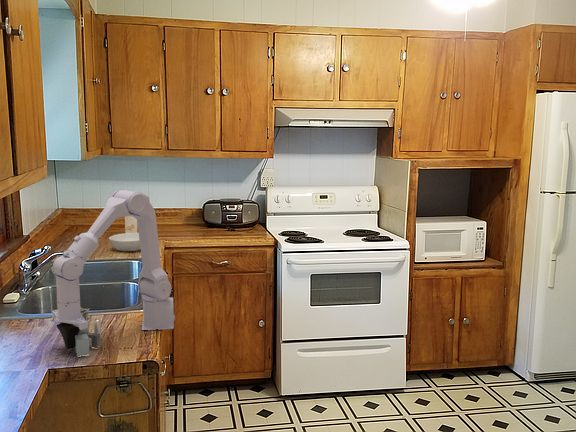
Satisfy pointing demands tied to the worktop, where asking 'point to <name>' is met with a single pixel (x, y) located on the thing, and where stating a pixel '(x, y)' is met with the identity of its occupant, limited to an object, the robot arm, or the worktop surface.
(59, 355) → the worktop surface
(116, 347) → the worktop surface
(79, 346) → the link
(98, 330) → the pintle
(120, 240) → the serving bowl
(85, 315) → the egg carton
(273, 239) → the worktop surface
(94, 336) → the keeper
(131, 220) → the coffeecake box
